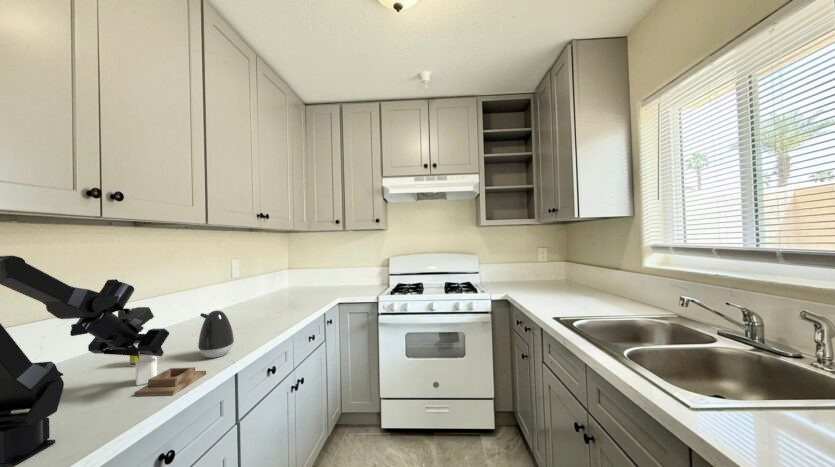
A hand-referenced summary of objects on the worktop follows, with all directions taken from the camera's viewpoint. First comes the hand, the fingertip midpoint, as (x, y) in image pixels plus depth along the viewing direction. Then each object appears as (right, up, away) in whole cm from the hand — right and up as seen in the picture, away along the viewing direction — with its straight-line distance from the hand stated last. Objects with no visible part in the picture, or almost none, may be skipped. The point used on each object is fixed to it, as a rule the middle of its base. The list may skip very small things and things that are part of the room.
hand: (151, 354), depth 88 cm
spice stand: (+9, -7, -4) cm, 12 cm away
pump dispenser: (+7, -7, +17) cm, 20 cm away
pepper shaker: (0, -7, -1) cm, 7 cm away
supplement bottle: (-14, -8, +12) cm, 20 cm away
